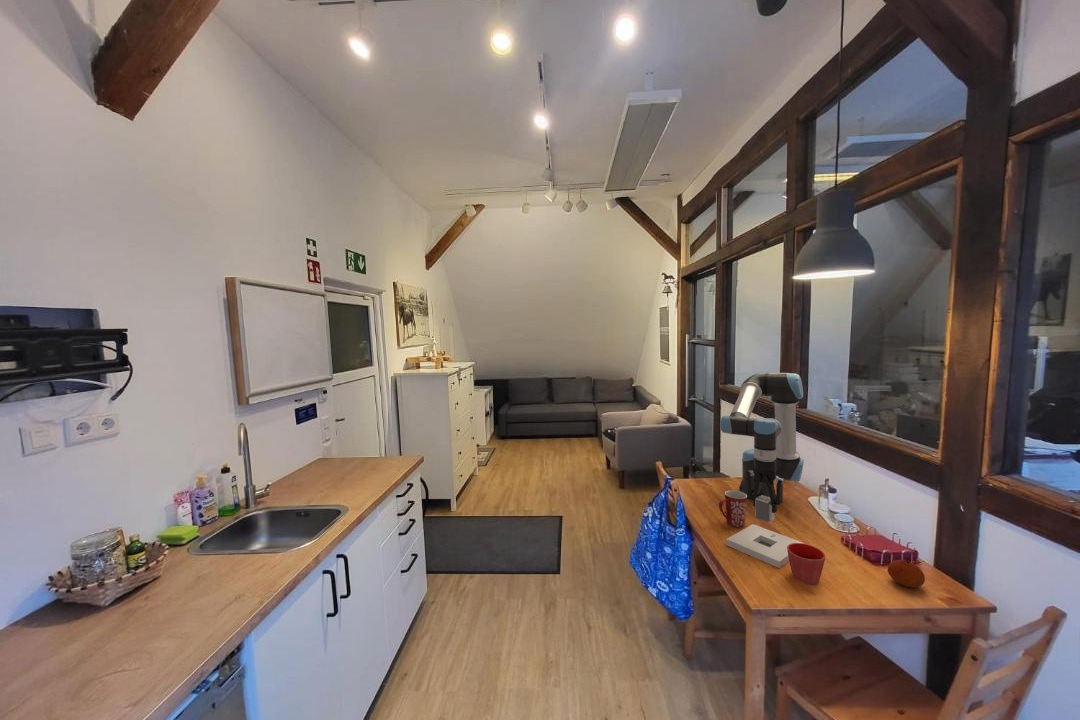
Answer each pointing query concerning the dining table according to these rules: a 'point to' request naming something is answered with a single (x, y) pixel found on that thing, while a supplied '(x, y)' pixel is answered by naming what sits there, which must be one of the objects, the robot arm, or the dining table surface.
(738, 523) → the mug
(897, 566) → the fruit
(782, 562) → the socket plate
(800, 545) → the flower pot
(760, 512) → the plug
